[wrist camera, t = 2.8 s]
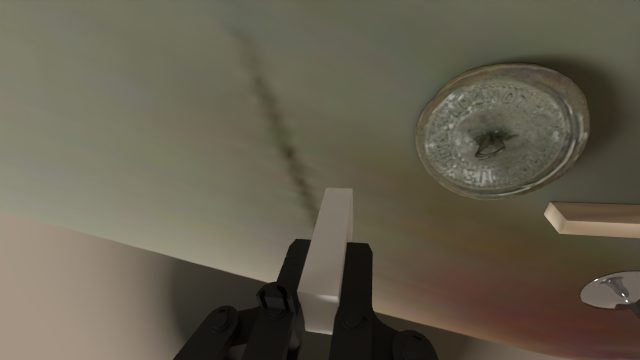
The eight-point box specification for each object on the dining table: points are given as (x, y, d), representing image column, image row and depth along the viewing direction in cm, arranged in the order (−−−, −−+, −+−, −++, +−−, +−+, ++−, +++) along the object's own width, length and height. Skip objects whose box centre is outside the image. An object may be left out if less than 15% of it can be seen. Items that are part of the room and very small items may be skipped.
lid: (509, 189, 23) (538, 228, 19) (400, 171, 24) (405, 205, 20) (590, 65, 17) (657, 85, 13) (439, 48, 18) (458, 61, 14)
